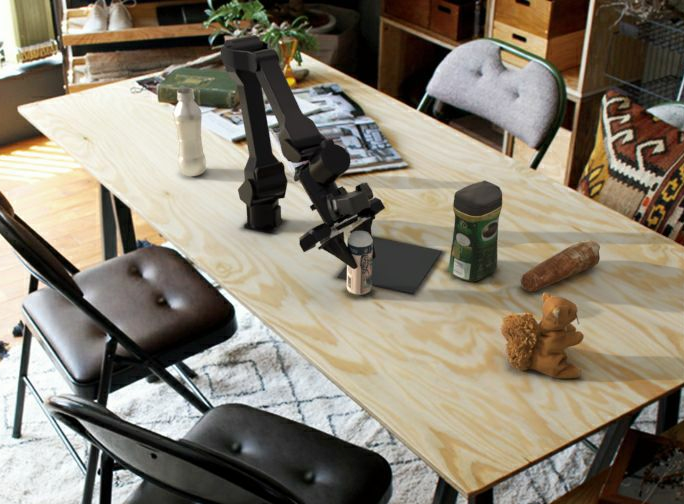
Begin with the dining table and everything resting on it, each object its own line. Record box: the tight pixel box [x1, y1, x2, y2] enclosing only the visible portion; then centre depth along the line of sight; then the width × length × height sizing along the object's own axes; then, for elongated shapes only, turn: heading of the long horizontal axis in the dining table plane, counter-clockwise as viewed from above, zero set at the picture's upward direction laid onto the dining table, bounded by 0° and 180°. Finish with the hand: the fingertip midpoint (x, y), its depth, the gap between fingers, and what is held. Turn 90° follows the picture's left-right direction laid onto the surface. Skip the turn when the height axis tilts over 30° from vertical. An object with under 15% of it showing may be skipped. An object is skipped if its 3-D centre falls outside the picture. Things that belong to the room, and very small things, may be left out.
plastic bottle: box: [172, 87, 207, 177], centre depth 235 cm, size 6×7×20 cm
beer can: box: [346, 231, 373, 296], centre depth 197 cm, size 5×5×12 cm
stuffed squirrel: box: [500, 292, 585, 379], centre depth 179 cm, size 10×14×13 cm
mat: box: [336, 235, 443, 295], centre depth 209 cm, size 16×18×1 cm
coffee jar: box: [448, 180, 503, 282], centre depth 202 cm, size 10×8×19 cm
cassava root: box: [520, 239, 601, 293], centre depth 205 cm, size 6×19×6 cm, turn 127°
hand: (364, 263), depth 195 cm, fingers closed on beer can, 5 cm apart
